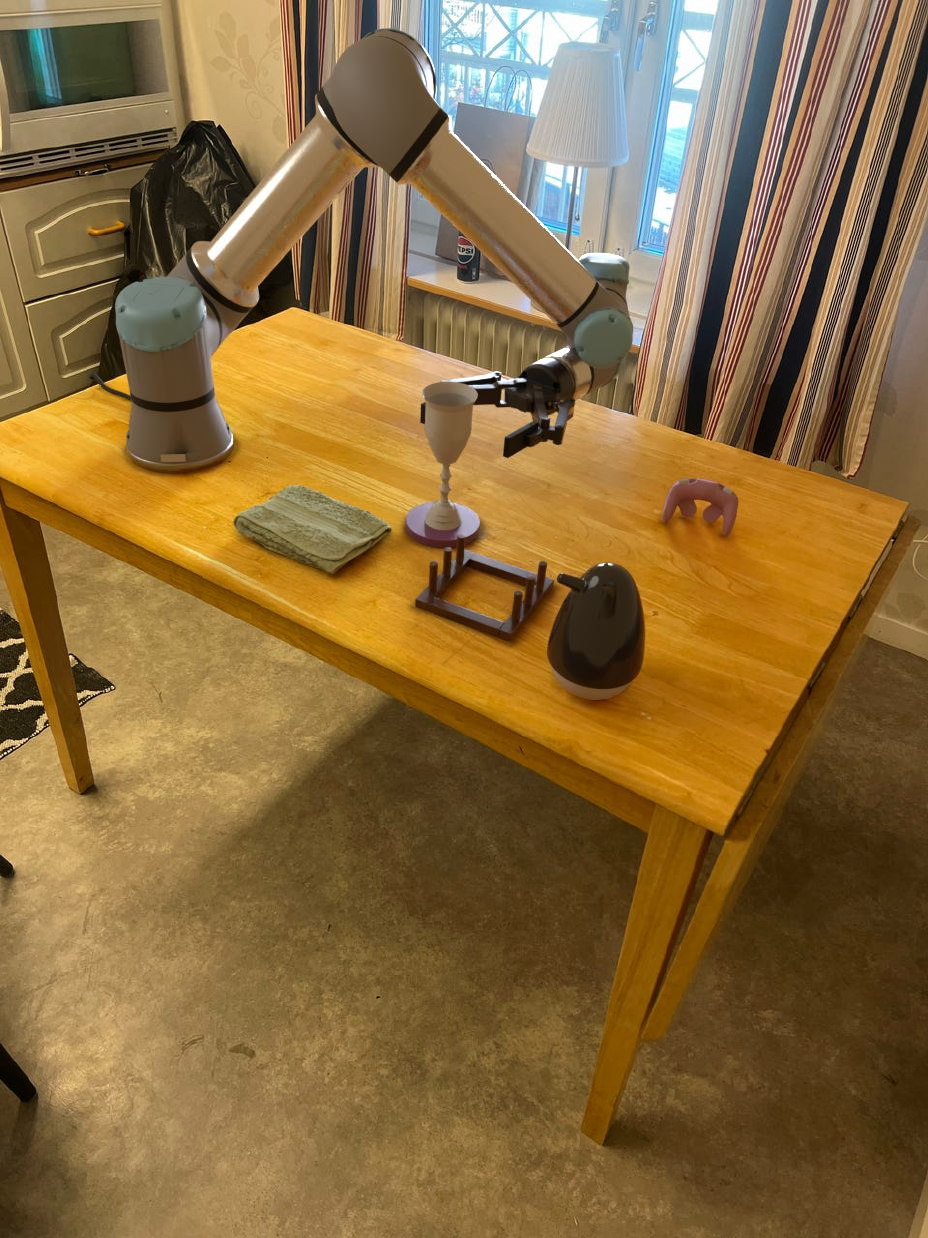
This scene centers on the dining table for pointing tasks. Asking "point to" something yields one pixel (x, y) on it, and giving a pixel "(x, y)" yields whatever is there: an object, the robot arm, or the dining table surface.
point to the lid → (441, 538)
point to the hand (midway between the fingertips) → (463, 430)
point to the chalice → (447, 441)
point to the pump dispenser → (598, 633)
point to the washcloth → (311, 527)
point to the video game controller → (707, 491)
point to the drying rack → (534, 582)
